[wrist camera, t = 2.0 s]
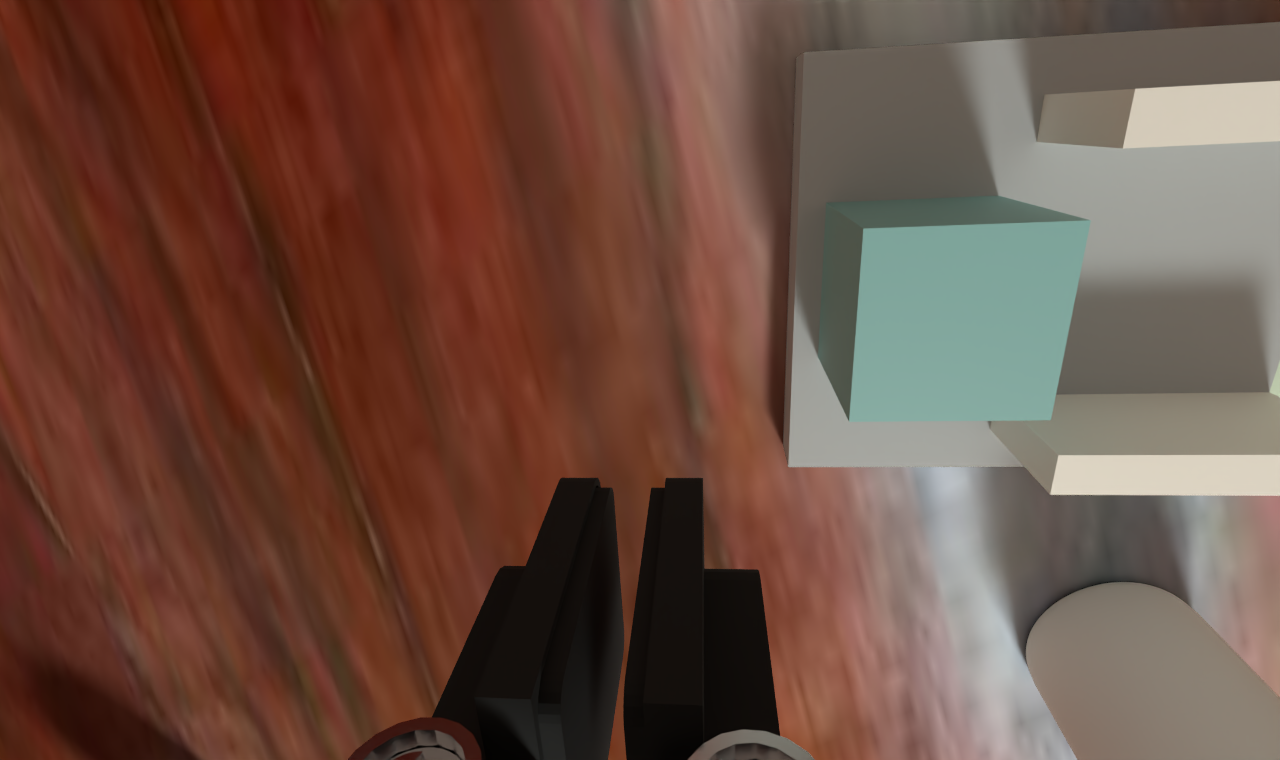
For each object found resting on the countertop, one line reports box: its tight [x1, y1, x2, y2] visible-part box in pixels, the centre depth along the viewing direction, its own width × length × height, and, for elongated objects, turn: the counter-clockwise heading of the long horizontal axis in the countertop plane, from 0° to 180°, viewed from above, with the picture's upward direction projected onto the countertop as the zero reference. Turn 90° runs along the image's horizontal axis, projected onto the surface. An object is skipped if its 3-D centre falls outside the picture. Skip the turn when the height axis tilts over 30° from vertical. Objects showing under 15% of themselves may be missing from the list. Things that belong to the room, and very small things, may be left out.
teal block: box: [818, 196, 1091, 422], centre depth 22 cm, size 6×6×6 cm
